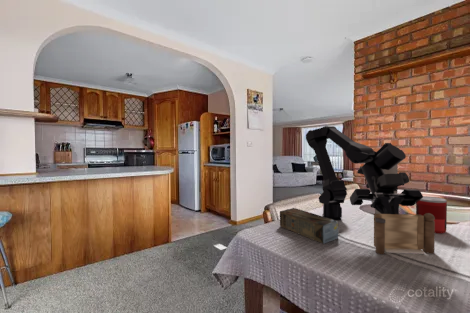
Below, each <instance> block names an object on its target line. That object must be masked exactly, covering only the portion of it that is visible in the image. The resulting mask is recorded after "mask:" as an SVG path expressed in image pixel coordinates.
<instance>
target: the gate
mask: <svg viewBox="0 0 470 313" xmlns="http://www.w3.org/2000/svg"><path fill="white" fill-rule="evenodd" d="M375 218H383V219H385V248H395V249H418V250H422V251H423V244H424V216H422V215H416V214H409V213H407V214H406V213H405V214H403V213H402V214H400V213H399V214H375V213H373V246H374V247H375V248H376V221H375Z"/></svg>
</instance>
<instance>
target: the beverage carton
mask: <svg viewBox="0 0 470 313" xmlns="http://www.w3.org/2000/svg"><path fill="white" fill-rule="evenodd" d="M279 226H280V227H281V228H283V229H286V230H289V231H290V232H293V233H295V234H298V235H301V236H303V237H306V238H308V239H310V240H313V241H316V242H318V243H321V244H326V243H330V242H332V241H335V240H337V239H339V220H333V219H329V218H326V217H323V215H318V214H315V213H312V212H310V211H309V212H308V211H306V210H302V209H299V208H296V207H292V208H287V209H284V210H280V211H279Z"/></svg>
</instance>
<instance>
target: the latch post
mask: <svg viewBox="0 0 470 313" xmlns="http://www.w3.org/2000/svg"><path fill="white" fill-rule="evenodd" d="M375 221H376V247H375V253H376V254H378V255H385V253H386V252H385V219H383V218H375Z"/></svg>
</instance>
